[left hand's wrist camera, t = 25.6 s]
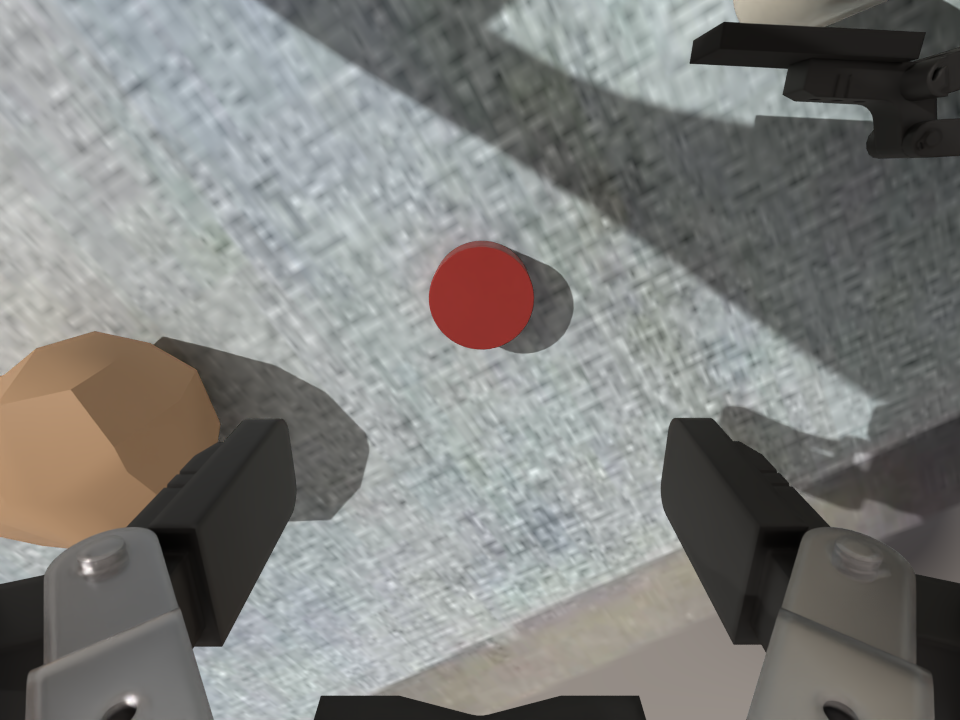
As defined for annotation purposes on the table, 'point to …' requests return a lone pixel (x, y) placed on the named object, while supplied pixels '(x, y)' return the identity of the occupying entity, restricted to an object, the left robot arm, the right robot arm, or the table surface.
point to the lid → (481, 295)
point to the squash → (94, 435)
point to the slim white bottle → (800, 11)
